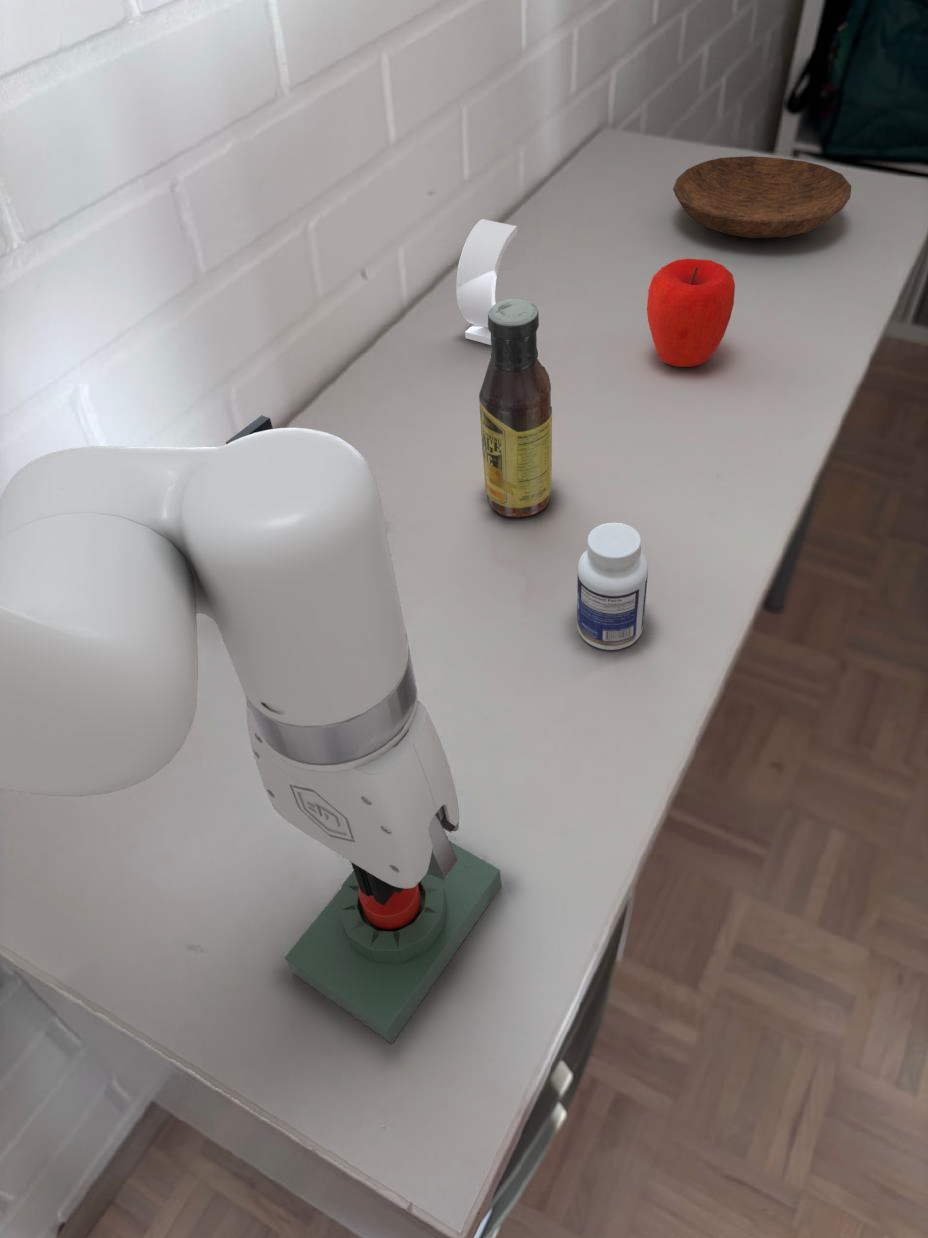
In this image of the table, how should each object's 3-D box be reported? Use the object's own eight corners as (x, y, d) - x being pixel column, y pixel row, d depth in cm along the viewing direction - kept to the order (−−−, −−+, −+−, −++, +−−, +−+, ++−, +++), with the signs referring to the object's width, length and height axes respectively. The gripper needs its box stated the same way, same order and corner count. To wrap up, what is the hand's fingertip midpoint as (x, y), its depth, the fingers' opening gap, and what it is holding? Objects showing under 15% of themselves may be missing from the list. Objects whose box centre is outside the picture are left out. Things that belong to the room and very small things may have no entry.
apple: (665, 391, 100) (674, 295, 92) (629, 351, 106) (634, 258, 98) (740, 371, 101) (755, 275, 94) (700, 332, 107) (711, 239, 99)
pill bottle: (597, 595, 80) (600, 507, 73) (654, 619, 78) (663, 530, 71) (564, 636, 77) (564, 547, 70) (622, 662, 75) (628, 573, 68)
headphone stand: (521, 326, 111) (517, 226, 102) (494, 351, 108) (488, 249, 99) (487, 318, 113) (481, 218, 104) (460, 342, 110) (451, 241, 101)
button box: (392, 1044, 56) (382, 1018, 53) (291, 972, 60) (277, 944, 57) (501, 886, 63) (498, 855, 60) (405, 829, 66) (398, 798, 63)
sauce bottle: (482, 484, 92) (467, 292, 77) (546, 475, 92) (543, 282, 77) (491, 528, 87) (476, 333, 73) (558, 519, 87) (557, 323, 73)
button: (397, 940, 57) (393, 927, 55) (351, 910, 58) (346, 897, 57) (432, 893, 59) (429, 880, 57) (386, 865, 60) (383, 851, 59)
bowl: (826, 270, 115) (835, 229, 111) (651, 247, 122) (653, 208, 119) (856, 202, 126) (864, 164, 123) (694, 185, 134) (697, 148, 130)
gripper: (160, 676, 44) (255, 868, 58) (414, 822, 38) (455, 1001, 51) (268, 578, 48) (333, 779, 62) (515, 695, 42) (528, 892, 55)
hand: (388, 879), depth 56 cm, fingers closed
